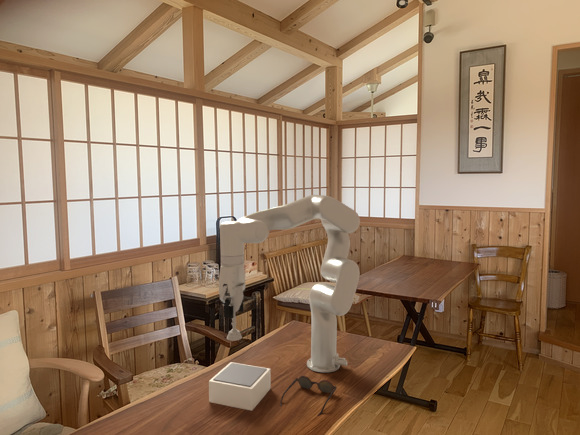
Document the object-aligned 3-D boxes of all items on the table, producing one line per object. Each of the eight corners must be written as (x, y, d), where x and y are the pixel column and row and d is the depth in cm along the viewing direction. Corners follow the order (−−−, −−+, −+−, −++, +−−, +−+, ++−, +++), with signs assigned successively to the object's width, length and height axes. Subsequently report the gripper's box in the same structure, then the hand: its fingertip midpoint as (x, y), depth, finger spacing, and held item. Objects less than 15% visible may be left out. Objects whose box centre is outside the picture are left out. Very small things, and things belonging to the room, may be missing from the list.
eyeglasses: (336, 395, 147) (336, 381, 147) (321, 417, 134) (321, 402, 133) (296, 386, 153) (296, 372, 153) (277, 407, 140) (277, 392, 139)
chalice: (226, 343, 141) (225, 288, 139) (220, 336, 147) (218, 283, 145) (248, 339, 144) (247, 285, 142) (241, 332, 151) (240, 280, 149)
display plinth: (270, 388, 151) (270, 367, 150) (251, 410, 137) (251, 388, 136) (230, 381, 156) (230, 361, 155) (209, 402, 142) (208, 380, 141)
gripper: (235, 254, 152) (236, 305, 154) (208, 264, 136) (209, 321, 138) (254, 255, 150) (255, 307, 152) (229, 266, 134) (231, 324, 136)
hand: (233, 313), depth 145 cm, fingers closed on chalice, 6 cm apart
